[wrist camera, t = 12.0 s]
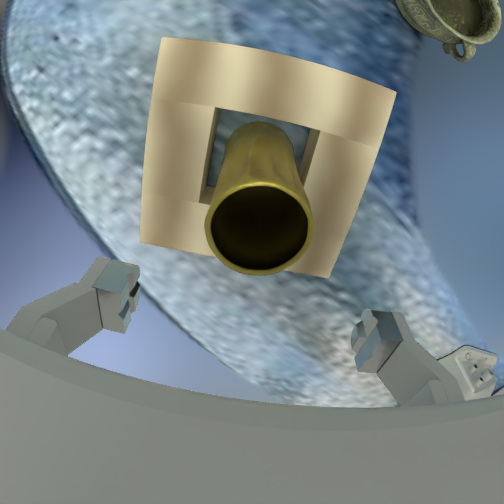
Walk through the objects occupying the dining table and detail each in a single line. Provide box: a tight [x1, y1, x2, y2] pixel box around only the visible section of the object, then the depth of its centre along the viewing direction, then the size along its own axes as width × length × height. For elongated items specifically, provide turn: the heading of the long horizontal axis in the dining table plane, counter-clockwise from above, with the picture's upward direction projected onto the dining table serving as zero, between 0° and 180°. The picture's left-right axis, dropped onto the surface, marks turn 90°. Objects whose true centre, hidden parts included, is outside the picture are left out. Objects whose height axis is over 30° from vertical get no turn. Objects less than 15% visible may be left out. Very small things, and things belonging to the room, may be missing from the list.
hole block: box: [140, 37, 397, 278], centre depth 25 cm, size 18×18×4 cm
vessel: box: [396, 0, 502, 62], centre depth 14 cm, size 12×9×6 cm
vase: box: [204, 122, 314, 275], centre depth 20 cm, size 6×6×14 cm
